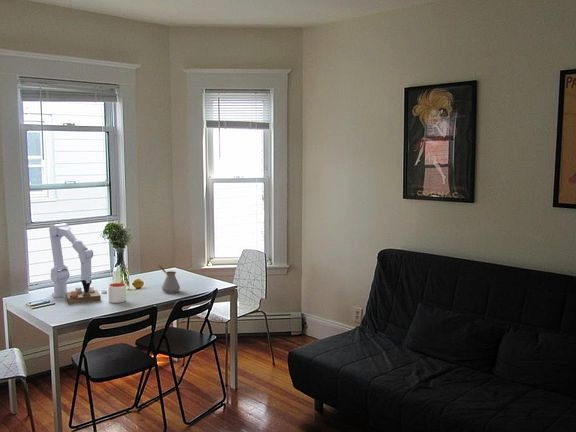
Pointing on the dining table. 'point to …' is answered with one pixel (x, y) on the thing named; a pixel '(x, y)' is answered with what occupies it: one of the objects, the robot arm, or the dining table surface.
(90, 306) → the dining table surface
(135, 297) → the dining table surface
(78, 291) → the key grey
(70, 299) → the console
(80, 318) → the dining table surface
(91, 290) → the key ivory
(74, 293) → the key terracotta
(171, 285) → the coffee pot
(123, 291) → the cup
